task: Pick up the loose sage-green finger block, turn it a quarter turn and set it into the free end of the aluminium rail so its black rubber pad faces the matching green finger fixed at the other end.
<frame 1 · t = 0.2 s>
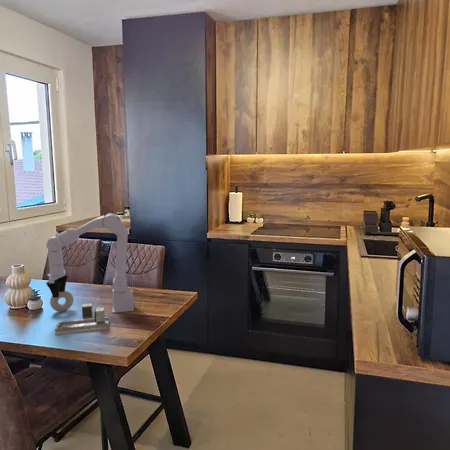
hand: (59, 294, 175), 10 cm above the table, tool pointing down, fingers open, 7 cm apart
rail: (83, 327, 163), on the table
donut: (62, 311, 182), on the table
loose finger: (87, 318, 173), on the table
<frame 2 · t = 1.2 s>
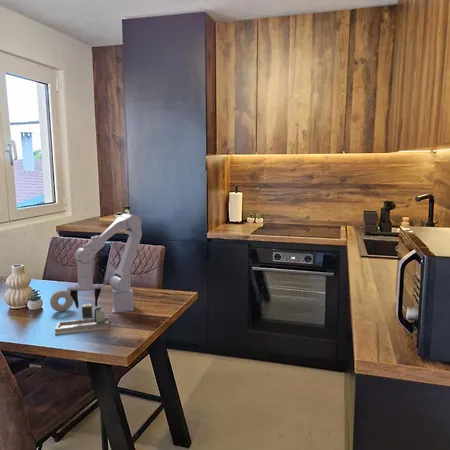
hand: (86, 306, 172), 5 cm above the table, tool pointing down, fingers open, 7 cm apart
nothing on the table moved.
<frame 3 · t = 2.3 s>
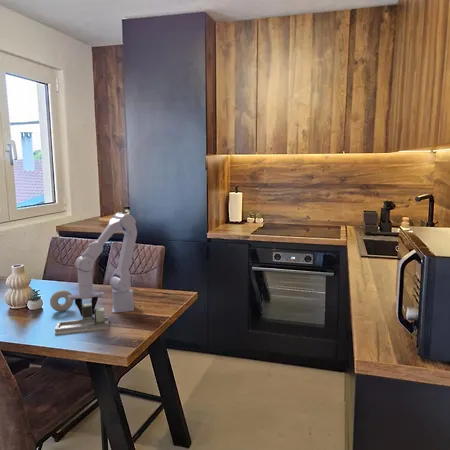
hand: (87, 314, 173), 2 cm above the table, tool pointing down, fingers closed on loose finger, 4 cm apart
loose finger: (87, 318, 173), on the table, touching gripper
everything else where it was.
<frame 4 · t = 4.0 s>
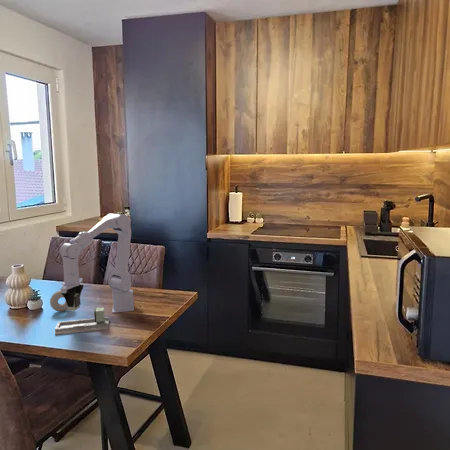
hand: (73, 304, 164), 9 cm above the table, tool pointing down, fingers closed on loose finger, 4 cm apart
loose finger: (73, 308, 164), point 7 cm above the table, touching gripper
everything else where it was.
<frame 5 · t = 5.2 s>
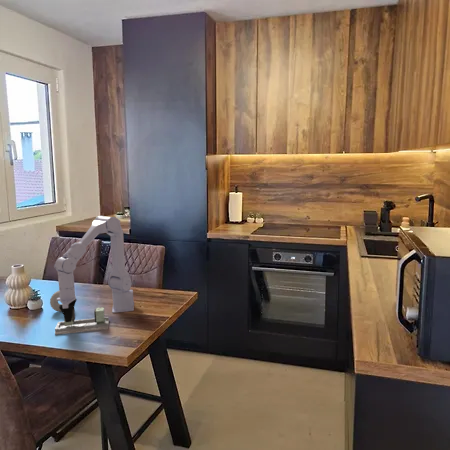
hand: (69, 319, 162), 4 cm above the table, tool pointing down, fingers closed on loose finger, 4 cm apart
loose finger: (69, 323, 162), point 2 cm above the table, touching gripper
everything else where it was.
when the fingers open (4 cm above the table, at t = 6.0 s): loose finger drops 1 cm, resting on rail.
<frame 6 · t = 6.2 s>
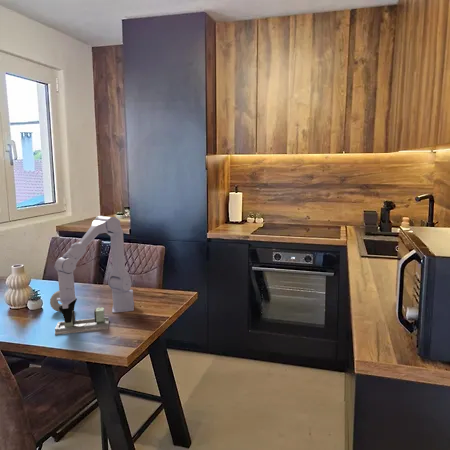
hand: (69, 319, 162), 4 cm above the table, tool pointing down, fingers open, 5 cm apart
loose finger: (69, 326, 162), point 1 cm above the table, touching rail
everything else where it was.
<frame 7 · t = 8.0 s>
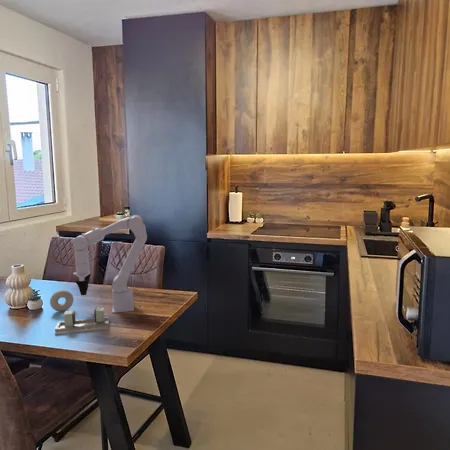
hand: (84, 292, 179), 9 cm above the table, tool pointing down, fingers open, 7 cm apart
nothing on the table moved.
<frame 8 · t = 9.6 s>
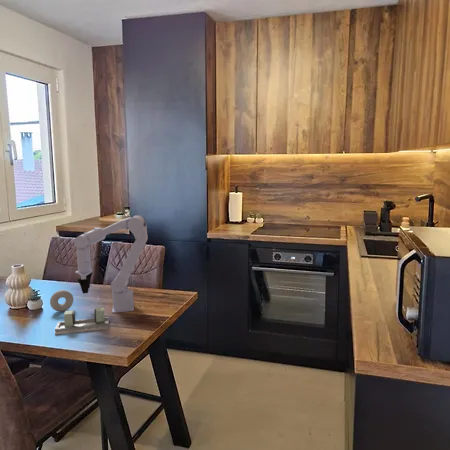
hand: (86, 290, 181), 9 cm above the table, tool pointing down, fingers open, 7 cm apart
nothing on the table moved.
at the end: loose finger 0.1 cm from the target spot on the rail, point 1.0 cm above the rail's base; loose finger tilted 0°; the gripper is holding nothing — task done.
